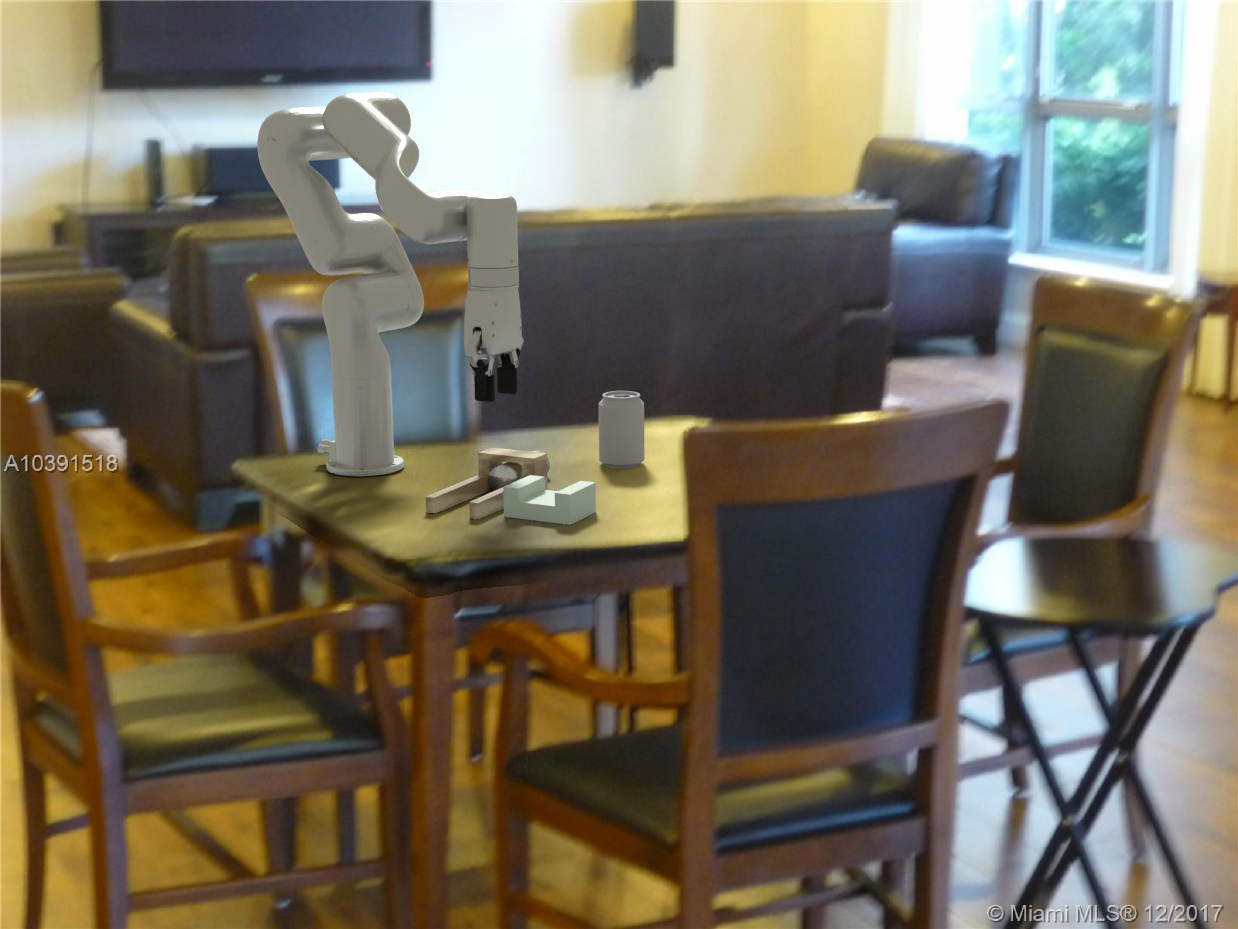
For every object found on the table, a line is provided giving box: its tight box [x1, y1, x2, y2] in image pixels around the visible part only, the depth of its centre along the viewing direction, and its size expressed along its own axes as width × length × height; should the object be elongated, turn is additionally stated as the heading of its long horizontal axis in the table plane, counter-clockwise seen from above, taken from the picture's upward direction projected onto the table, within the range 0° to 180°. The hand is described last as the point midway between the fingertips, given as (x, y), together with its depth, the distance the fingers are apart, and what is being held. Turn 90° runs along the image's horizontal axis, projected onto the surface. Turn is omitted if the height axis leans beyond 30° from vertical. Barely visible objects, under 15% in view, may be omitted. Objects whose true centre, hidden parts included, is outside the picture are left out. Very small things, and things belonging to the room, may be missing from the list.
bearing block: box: [425, 447, 549, 520], centre depth 258 cm, size 10×20×6 cm, turn 154°
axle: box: [489, 450, 551, 491], centre depth 269 cm, size 12×4×4 cm, turn 155°
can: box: [598, 390, 645, 470], centre depth 280 cm, size 8×8×12 cm
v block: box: [503, 475, 597, 526], centre depth 251 cm, size 11×8×4 cm
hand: (496, 395), depth 259 cm, fingers open, 6 cm apart
